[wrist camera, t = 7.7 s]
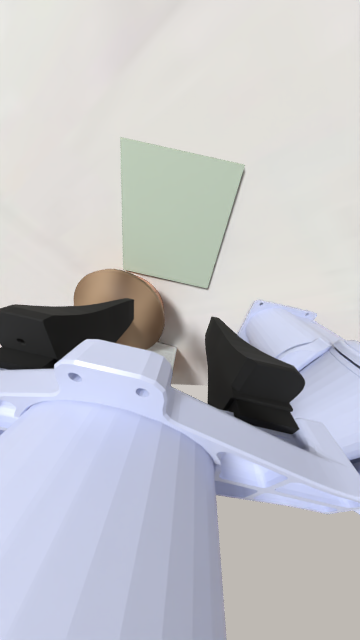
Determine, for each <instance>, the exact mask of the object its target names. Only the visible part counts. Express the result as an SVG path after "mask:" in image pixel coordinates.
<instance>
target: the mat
mask: <svg viewBox="0 0 360 640" xmlns="http://www.w3.org/2000/svg"><path fill="white" fill-rule="evenodd" d="M120 143H121V189H122V235H123V270H128V271H132V272H136V273H141V274H145V275H150V276H154V277H159V278H163V279H167V280H172V281H176V282H181V283H185V284H190V285H194V286H198V287H203V288H208V285H209V282H210V278H211V275H212V272H213V268H214V265H215V262H216V259H217V255H218V252H219V249H220V245H221V242H222V239H223V235H224V232H225V229H226V226H227V222H228V219H229V216H230V212H231V209H232V206H233V203H234V199H235V196H236V193H237V189H238V186H239V183H240V180H241V176H242V173H243V170H244V166H245V165H244V164H239V163H235V162H230V161H226V160H221V159H217V158H212V157H208V156H203V155H199V154H194V153H190V152H185V151H181V150H176V149H172V148H167V147H163V146H158V145H154V144H149V143H145V142H140V141H136V140H131V139H127V138H122V137H120Z"/></svg>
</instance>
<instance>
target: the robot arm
mask: <svg viewBox="0 0 360 640" xmlns="http://www.w3.org/2000/svg"><path fill="white" fill-rule="evenodd" d="M260 303H262V305H260ZM306 313H307V314H306ZM305 314H306V315H305ZM316 316H317V314H316V313H314V312H310V311H306V310H301V309H297V308H293V307H288V306H284V305H279V304H275V303H270V302H266V301H262V300H256V301H255V302H254V303H253V305H252V307H251V309H250V311H249V313H248V315H247V317H246V319H245V321H244V323H243V325H242V327H241V329H240V331H239V333H238V335H237V334H235V333H234V332H233V331H232V330H231V329H230V328H229V327H228V326H227V325H226V324H225V323H224V322H223V321H222V320H220V319H219V318H216V317H211V320H210V323H209V326H208V329H207V332H206V335H205V346H206V354H207V362H208V404H206V403H204V402H202V401H200V400H198V399H196V398H194V397H192V396H190V395H188V394H185V393H183V392H181V391H179V390H177V389H175V388H173V387H171V379H172V374H173V373H172V366H171V364H170V363H169V362H168V361H167V360H166V358H165V357H164V356H162V355H159V354H157V353H155V352H153V351H148V350H144V349H139V348H135V347H130V346H126V345H122V344H117V343H116V342H117V340H118V339H119V338H120V337H121V336H122V335H123V334H124V332H125V331H126V330H127V329H128V328H129V326H130V325H131V323H132V321H133V320H134V299H129V298H123V299H118V300H113V301H109V302H104V303H98V304H92V305H83V306H66V307H49V306H30V305H10V306H7V307H4V308H1V309H0V344H1V346H2V347H1V348H0V640H226V627H225V613H224V600H223V586H222V572H221V560H220V559H221V558H220V547H219V531H218V519H217V504H216V495H219V496H225V497H232V498H239V499H245V500H252V501H259V502H266V503H272V504H278V505H285V506H291V507H295V508H301V509H306V510H311V511H315V512H320V513H324V514H333V513H339V512H345V511H351V510H353V511H354V512H356V513H358V514H359V515H360V342H358V341H355V340H345V339H343V338H341V337H340V336H338V335H337V334H335V333H333V332H332V331H330V330H329V329H327V328H325V327H324V326H322V325H321V324H319V323H317V322H316V321H314V319H315V318H316Z"/></svg>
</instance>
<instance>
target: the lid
mask: <svg viewBox="0 0 360 640" xmlns="http://www.w3.org/2000/svg"><path fill="white" fill-rule="evenodd" d="M123 298H129V299H134V320H133V321H132V323H131V325H130V326H129V328H128V329H127V330H126V331H125V332H124V334H123V335H122V336H121V337H120V338H119V339H118V340H117V342H116V343H117V344H122V345H126V346H130V347H135V348H139V349H144V350H147V349H149V348H150V347H152V346H153V345H154V344H155V343H156V342H157V341H158V340H159V338H160V336H161V334H162V331H163V329H164V325H165V314H164V309H163V307H162V304H161V302H160V300H159V298H158V296H157V295H156V293H155V292H154V291H153V290H152V288H151V287H150V286H149V285H148V284H147V283H145V282H144V281H143V280H141V279H140V278H138V277H137V276H135V275H133V274H131V273H128V272H125V271H122V270H117V269H105V270H99V271H96V272H92V273H90V274H88V275H86V276H85V277H84V278H83V279H82V280H81V281H80V282H79V283H78V285H77V287H76V289H75V293H74V306H83V305H92V304H98V303H104V302H109V301H113V300H118V299H123Z"/></svg>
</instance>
